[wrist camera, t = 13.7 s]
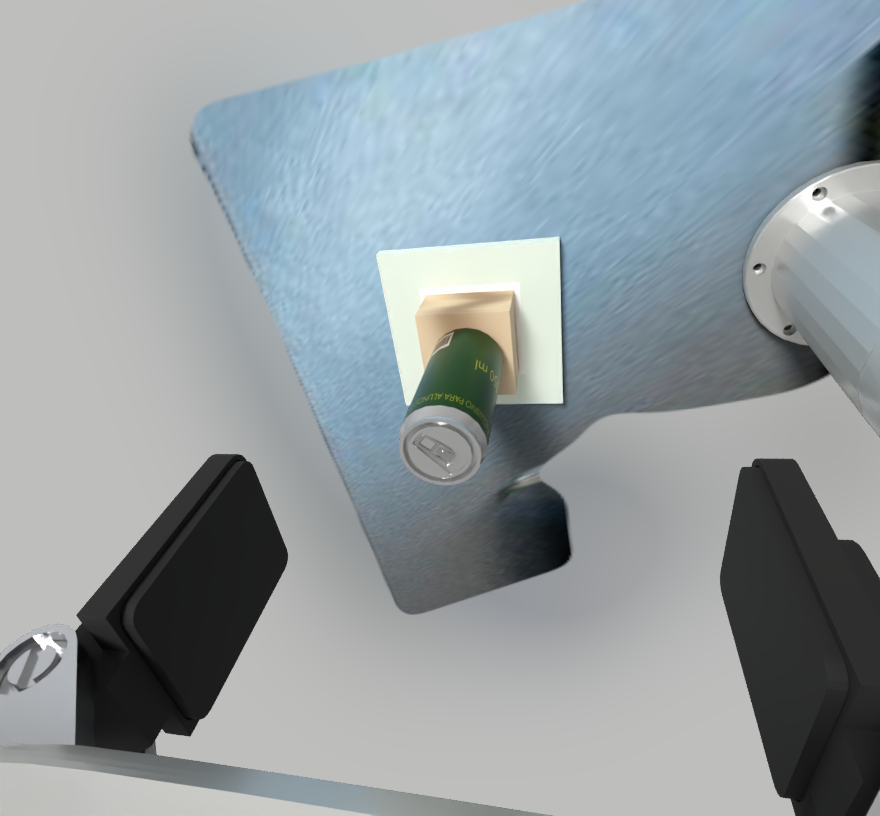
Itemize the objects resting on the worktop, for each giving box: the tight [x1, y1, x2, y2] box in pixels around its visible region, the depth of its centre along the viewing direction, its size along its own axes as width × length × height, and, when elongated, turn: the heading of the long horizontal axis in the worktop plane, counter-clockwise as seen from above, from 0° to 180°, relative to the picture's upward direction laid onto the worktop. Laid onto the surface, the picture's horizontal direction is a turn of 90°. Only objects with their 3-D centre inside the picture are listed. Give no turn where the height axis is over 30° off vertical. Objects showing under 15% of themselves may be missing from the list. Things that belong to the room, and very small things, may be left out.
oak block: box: [415, 290, 519, 395], centre depth 44 cm, size 7×7×4 cm
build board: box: [376, 237, 563, 405], centre depth 46 cm, size 14×14×1 cm
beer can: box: [399, 327, 504, 485], centre depth 38 cm, size 5×5×12 cm
